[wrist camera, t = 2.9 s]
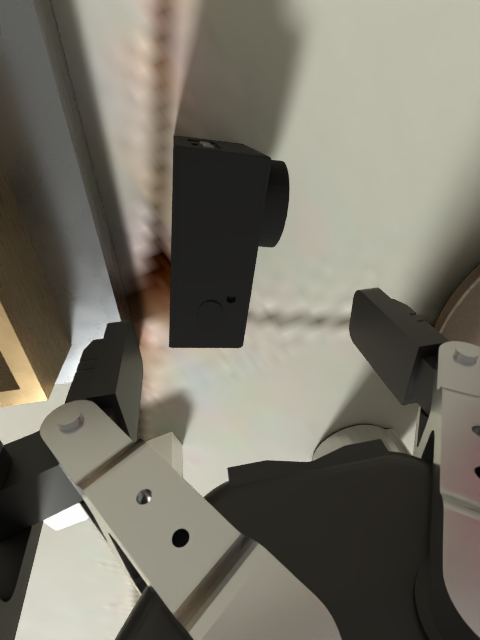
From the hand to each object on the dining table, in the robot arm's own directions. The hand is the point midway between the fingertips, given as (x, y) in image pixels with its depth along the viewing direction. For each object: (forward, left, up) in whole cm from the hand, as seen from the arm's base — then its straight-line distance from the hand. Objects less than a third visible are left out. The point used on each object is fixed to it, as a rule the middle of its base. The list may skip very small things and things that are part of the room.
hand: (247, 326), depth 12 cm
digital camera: (0, 0, -13) cm, 13 cm away
